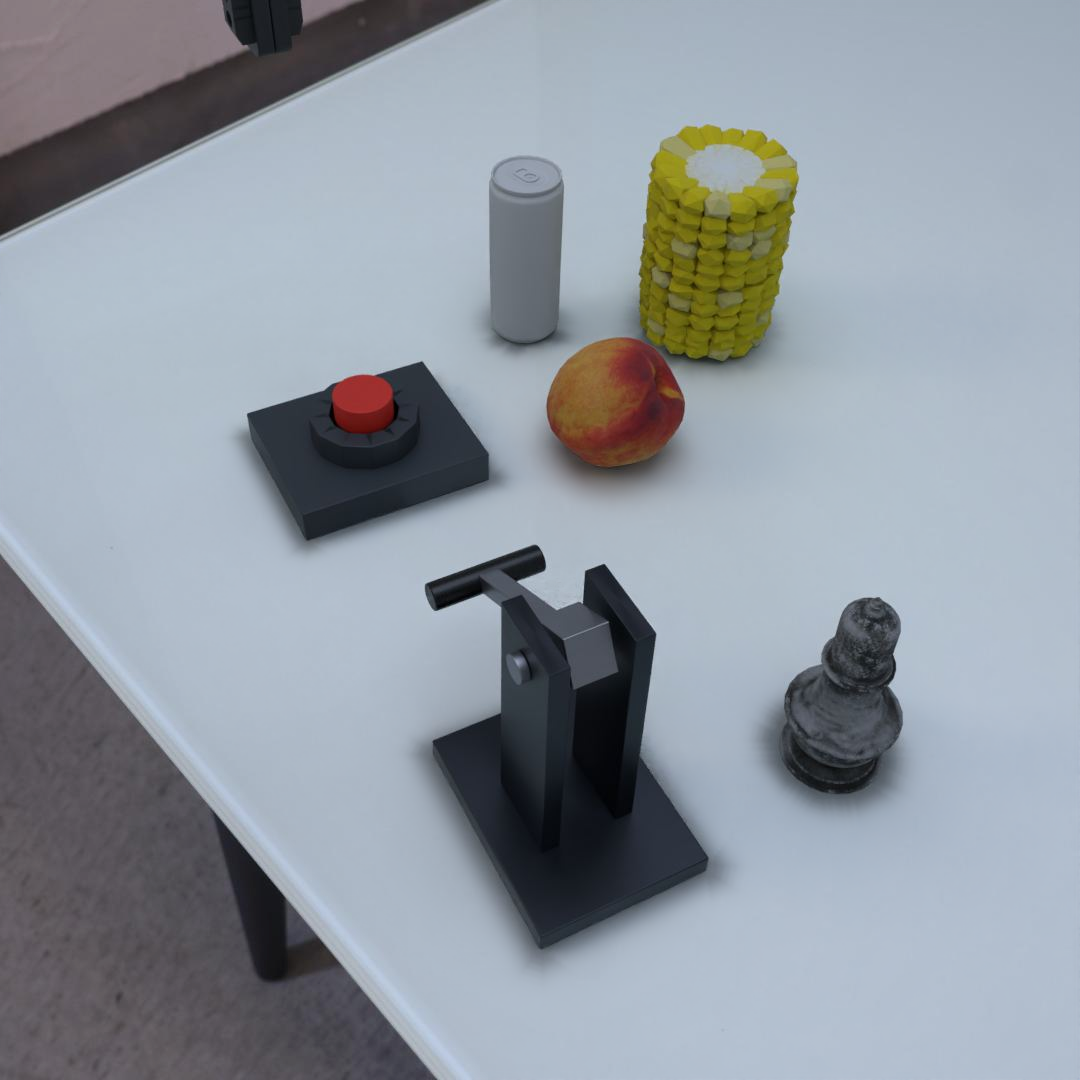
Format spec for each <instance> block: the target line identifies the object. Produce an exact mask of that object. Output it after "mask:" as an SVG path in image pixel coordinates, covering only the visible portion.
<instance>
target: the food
mask: <svg viewBox="0 0 1080 1080" xmlns="http://www.w3.org/2000/svg"><path fill="white" fill-rule="evenodd" d="M649 164H650V167H651V171H650V172H649V173H648V177H649V179H650V182H649V183H648V185H647V193H648V194H647V196H646V209H645V214H646V215H645V219H646V222H645V223H643V224H642V239H643V241H642V243H643V245H642V250H641V254H640V256H639V260H640V267H639V271H638V276H639V277H640V281H639V284H638V287H639V300H638V304H639V305H638V310H639V314H640V321H639V325H638V326H639V327H640V328H642V329H643V330H645V331H646V338H647V339H648V340H649V341H650V342H651V344H652V346H655V347H659V348H661V347H663V346H665V348H666V349H667V351H668V352H669V354H671V355H682V354H685V355H686V356H688V357H689V359H690V358H691V359H694V360H697V359H700V358H702V357H706V356H707V358H710V359H713V360H717V361H720V362H725V361H726V360H727V359H728V357H731V358H739V357H744V356H746V354H747V353H748V352H749V351H750V349H751V348H756V347H758V346H759V345H760V343H761V342H762V341H763V340H764V339H765V332H766V331H767V330H768V329H769V327H770V326H771V324H772V321H771V320H772V310H773V309H774V307H775V303H776V297H777V296H778V295H780V282H779V281H780V277H781V274H782V271H783V270H784V261H783V256H784V255H785V253H786V251H787V250H788V248H789V246H790V245H789V242H790V236H791V235H790V234H791V230H790V229H791V227H792V223H793V221H792V218H791V217H792V216H793V215H794V214H795V213H796V211H795V206H794V200H795V198H796V196H797V193H798V190H797V188H798V184H799V179H800V176H799V173H798V161H797V160H796V159H794V157H792V156H791V155H790V154H788V150H787V149H786V147H784V146H783V145H782V144H781V143H780V142H779V141H777V140H776V139H775V138H772V139H770V140H769V141H768V137H767V136H766V134H765V132H763V131H760V130H755V129H749V128H748V129H747V130H746V131H745V132H744V130H743V129H739V128H734V127H731V128H727V129H726V130H723V131H722V128H721V127H719V126H715V125H712V124H708V123H706V124H704V125H703V126H701V127H700V128H699V127H698V126H692V125H685V126H684V127H683V128H682V129H681V130H680V131H679V132H678V133H677V134H676V135H674V136H668V137H666V138H664V139H663V140H661V141H660V143H659V151H657V152H656V153H655V154H654V157H652V160H651V161H650V163H649Z"/></svg>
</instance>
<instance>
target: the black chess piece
mask: <svg viewBox="0 0 1080 1080" xmlns="http://www.w3.org/2000/svg"><path fill="white" fill-rule="evenodd" d="M900 618H901V617H900V616H899V614H898V612H897V611H896V610H895V608H894V607H893V606H892V605H890V604H889V603H888V602H886V601H885V600H883V599H882V598H881V597H880V596H878V597H877V596H876V597H869V596H867V597H861V598H858V599H854V600H853V601H850V603H848V604H847V605H846V607H844V609H843V610H842V612H841V615H840V617H839V621H838V624H837V627H836V631H835V635H834V636H833V637H831V638H830V639H828V640H827V642H826V643H825V644H824V645H823V648H822V651H821V653H820V662H821V663H820V664H818V665H814V666H810V667H808V668H806V669H804V670H803V671H801V672H799V673H797V674H796V675H795V677H794V678H793V679H792V680H791V681H790V682H789V684H788V687H787V689H786V692H785V694H784V703H783V710H784V713H785V717H786V720H787V722H786V724H785V725H784V726H783V729H782V731H781V733H780V736H779V751H780V755H781V760H782V761H783V764H784V765H785V766H786V768H787V770H788V771H789V772H790V773H791V774H792V775H793V776H794V777H795V778H796V779H797V780H798V781H799V782H802V784H804V785H806V786H808V787H809V788H811V789H814V790H817V791H819V792H822V793H827V794H833V795H844V794H852V793H855V792H858V791H861V790H863V789H865V788H867V787H868V786H869V785H871V784H873V782H874V780H875V779H876V778H877V776H878V775H879V774H880V770H881V768H882V764H883V753H884V752H886V751H887V750H890V749H891V748H892V747H893V746H894V744H895V743H896V742H897V740H898V739H899V738H900V735H901V732H902V728H903V726H904V714H903V713H904V711H903V709H902V705H901V703H900V701H899V699H898V697H897V696H896V694H895V693H894V691H893V690H892V688H891V687H890V686H889V685H890V684H891V683H892V682H893V680H894V679H895V676H896V673H897V661H896V657H895V655H894V653H895V650H896V647H897V644H898V642H899V640H900V639H899V638H900V635H901V634H902V625H901V624H902V621H901V619H900Z"/></svg>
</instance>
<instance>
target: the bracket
mask: <svg viewBox="0 0 1080 1080" xmlns="http://www.w3.org/2000/svg"><path fill="white" fill-rule="evenodd" d="M582 604H584V605H585V606H587V607H588V608H590V609H591V610H593V611H594V612H595V613H597V614H598V615H600V616H601V617H603V618H604V619H606V620H607V621H609V624H610V630H611V635H612V640H613V645H614V650H615V656H616V661H617V666H618V672H616V673H614V674H611V675H609V676H606V677H604V678H601V679H599V680H596V681H594V682H592V683H589V684H587V685H584V686H582V687H579V688H577V689H574V690H573V689H572V688H570V676H571V667H570V665H569V664H568V662H567V661H566V659H565V658H564V657H563V655H562V654H561V652H560V651H559V649H558V648H557V646H556V645H555V643H554V642H553V640H552V639H551V637H550V636H549V634H548V633H547V631H546V630H545V628H544V627H543V625H542V624H541V622H540V621H539V619H538V618H537V616H536V615H535V613H534V612H533V610H532V609H531V607H530V606H529V604H528V603H527V601H526V600H525V598H524V597H523V595H519V596H516V597H513V598H511V599H508V600H505V601H502V602H501V607H500V618H501V619H500V713H497V714H494V715H492V716H490V717H488V718H485V719H482V720H480V721H477V722H475V723H472V724H470V725H468V726H464V727H463V728H460V729H457V730H454V731H452V732H450V733H448V734H446V735H445V734H444V735H443V736H440V737H438V738H435V739H433V740H432V741H431V744H432V755H433V757H434V758H435V760H436V762H437V764H438V765H439V767H440V770H441V771H442V773H443V775H444V777H445V779H446V780H447V782H448V784H449V786H450V788H451V789H452V791H453V793H454V795H455V796H456V797H455V798H457V800H458V803H459V804H460V806H461V808H462V810H463V811H464V813H465V815H466V817H467V819H468V821H469V822H470V824H471V826H472V828H473V829H474V831H475V833H476V835H477V837H478V838H479V841H480V842H481V844H482V845H483V848H484V849H485V851H486V854H487V855H488V857H489V859H490V860H491V862H492V865H493V866H494V867H495V869H496V872H497V874H498V875H499V878H501V881H502V883H503V885H504V886H505V888H506V889H507V892H508V893H509V895H510V898H511V899H512V900H513V902H514V904H515V906H516V908H517V910H518V911H519V913H520V915H521V917H522V919H523V921H524V923H525V924H526V926H527V927H528V930H529V932H530V933H531V935H532V937H533V939H534V940H535V942H536V944H537V946H538V949H540V950H542V949H545V948H547V947H548V946H551V945H553V944H555V943H557V942H559V941H561V940H563V939H565V938H567V937H570V936H572V935H573V934H576V933H578V932H580V931H582V930H584V929H587V928H588V927H590V926H592V925H594V924H597V923H599V922H601V921H603V920H605V919H608V918H609V917H612V916H613V915H616V914H618V913H620V912H622V911H624V910H626V909H628V908H631V907H632V906H635V905H637V904H640V903H641V902H642V901H645V900H647V899H649V898H651V897H653V896H655V895H657V894H660V893H661V892H664V891H666V890H669V889H670V888H672V887H675V886H676V885H679V884H681V883H683V882H685V881H687V880H689V879H691V878H693V877H695V876H697V875H699V874H702V873H704V872H706V871H707V868H708V863H709V859H710V858H709V856H708V855H707V853H706V852H705V850H704V849H703V847H702V845H700V843H699V841H698V840H697V838H696V837H695V835H694V834H693V832H692V831H691V829H690V828H689V827H688V825H687V823H686V822H685V821H684V820H683V818H682V816H681V814H680V813H679V812H678V810H677V809H676V807H675V806H674V805H673V803H672V801H671V800H670V798H669V797H668V795H667V794H666V792H665V791H664V789H663V788H662V787H661V785H660V783H659V782H658V781H657V779H656V777H655V776H654V774H653V773H652V772H651V770H650V768H649V767H648V766H647V764H646V763H645V761H644V760H643V758H642V757H641V750H642V744H643V737H644V729H645V721H646V713H647V707H648V700H649V692H650V685H651V677H652V670H653V662H654V656H655V648H656V641H657V632H656V630H654V628H653V627H652V625H651V624H650V623H649V621H648V620H647V618H646V617H645V616H644V615H643V613H642V612H641V610H640V609H639V608H638V607H637V605H636V604H635V602H634V601H633V600H632V598H631V597H630V595H629V594H628V593H627V591H626V590H625V589H624V588H623V586H622V585H621V584H620V582H619V581H618V580H617V578H616V577H615V575H614V574H613V573H612V572H611V570H610V569H609V567H608V566H607V564H606V563H601V564H599V565H596V566H594V567H592V568H588V569H585V570H584V579H583V593H582Z"/></svg>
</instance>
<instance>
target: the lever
mask: <svg viewBox="0 0 1080 1080" xmlns="http://www.w3.org/2000/svg"><path fill="white" fill-rule="evenodd" d="M546 570H547V561H546V557H545V554H544V553H543V550H542V549H541V548H540V546H539V545H537V544H531V545H528V546H525V547H522V548H520V549H517V550H515V551H512V552H509V553H506V554H503V555H500V556H498V557H495V558H493V559H490V560H487V561H484V562H481V563H478V564H476V565H472V566H470V567H468V568H465V569H461V570H459V571H456V572H454V573H451V574H448V575H445V576H442V577H440V578H437V579H434V580H430V581H428V582H426V583H425V584H424V593H425V597H426V600H427V603H428V604H429V605H430V608H431V609H432V610H433V611H434V612H439V611H441V610H443V609H447V608H449V607H452V606H455V605H457V604H460V603H463V602H465V601H468V600H470V599H474V598H477V597H480V596H481V595H484V596H485V597H487V598H488V599H490V601H492V602H493V603H494V604H496V605H497V606H499V607H500V608H501V602H502V601H505V600H508V599H511V598H513V597H516V596H519V595H523V597H524V598H525V600H526V601H527V603H528V604H529V606H530V607H531V609H532V610H533V612H534V613H535V615H536V616H537V618H538V619H539V621H540V622H541V624H542V625H543V627H544V628H545V630H546V631H547V633H548V634H549V636H550V637H551V639H552V640H553V642H554V643H555V645H556V646H557V648H558V649H559V651H560V652H561V654H562V655H563V657H564V658H565V659H566V661H567V662H568V664H569V665H570V667H571V676H570V688H572V689H573V690H574V689H577V688H579V687H582V686H584V685H587V684H589V683H592V682H594V681H596V680H599V679H601V678H604V677H606V676H609V675H611V674H614V673H616V672H618V666H617V661H616V656H615V650H614V645H613V640H612V635H611V630H610V624H609V621H607V620H606V619H604V618H603V617H601V616H600V615H598V614H597V613H595V612H594V611H593V610H591V609H590V608H588V607H587V606H585V605H584V604H583V602H581V601H577V602H574V603H572V604H568V605H567V606H563V607H560V608H559V609H556V608H554V607H553V606H552V605H550V604H549V603H547V602H546V601H545V600H543V599H542V598H541V597H539V596H538V595H536V594H535V593H534V592H532V591H530V590H529V589H528V588H526V587H525V586H524V585H522V584H521V583H520V581H522V580H526V579H528V578H530V577H533V576H536V575H538V574H541V573H544V572H545V571H546Z"/></svg>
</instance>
